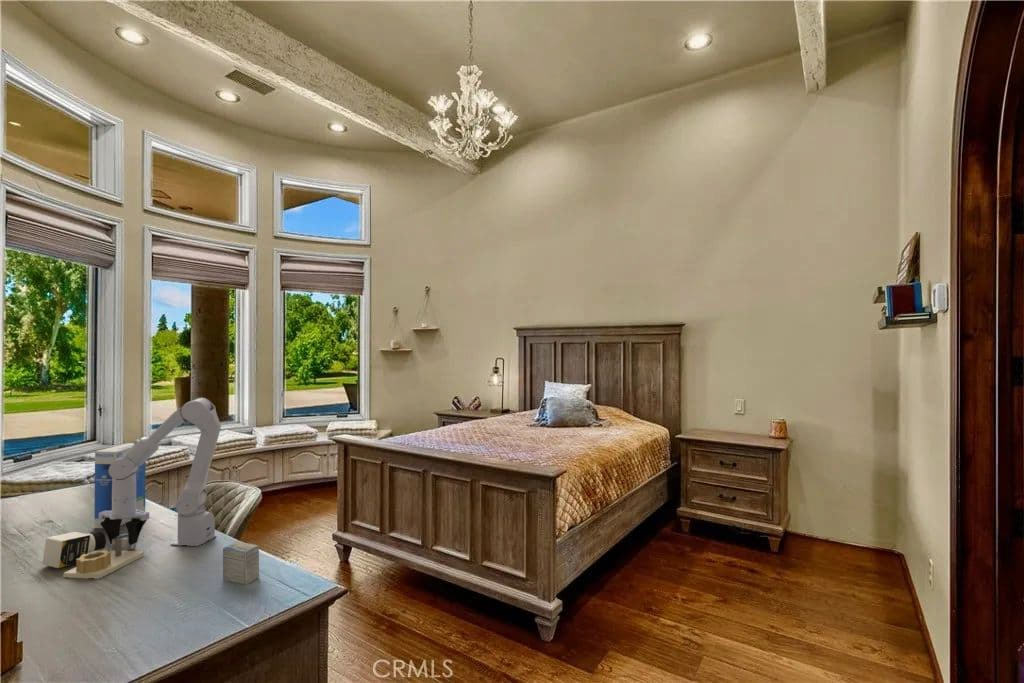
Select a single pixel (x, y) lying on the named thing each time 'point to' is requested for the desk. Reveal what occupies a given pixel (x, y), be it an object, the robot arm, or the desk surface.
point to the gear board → (102, 562)
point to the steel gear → (123, 542)
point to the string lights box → (105, 482)
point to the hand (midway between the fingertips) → (123, 543)
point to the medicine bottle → (71, 547)
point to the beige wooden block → (240, 562)
